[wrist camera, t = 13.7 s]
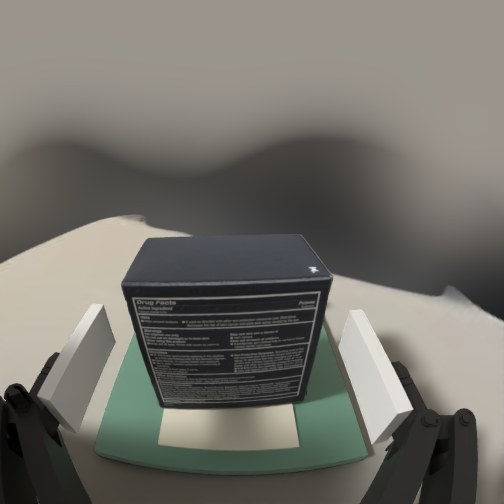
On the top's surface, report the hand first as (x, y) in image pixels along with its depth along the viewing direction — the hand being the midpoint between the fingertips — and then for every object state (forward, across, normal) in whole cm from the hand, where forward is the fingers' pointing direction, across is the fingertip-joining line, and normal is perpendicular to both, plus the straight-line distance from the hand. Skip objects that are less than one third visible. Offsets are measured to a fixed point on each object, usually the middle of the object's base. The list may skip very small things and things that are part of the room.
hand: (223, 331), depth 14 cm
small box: (+3, 0, -8) cm, 8 cm away
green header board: (+5, 0, -9) cm, 10 cm away
